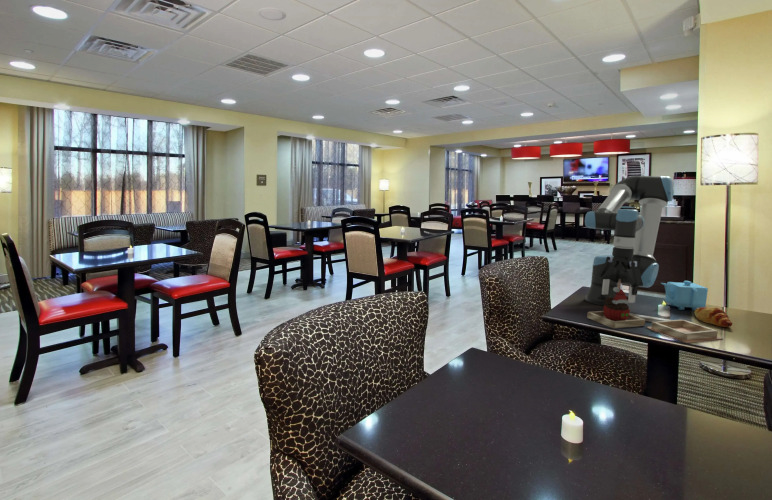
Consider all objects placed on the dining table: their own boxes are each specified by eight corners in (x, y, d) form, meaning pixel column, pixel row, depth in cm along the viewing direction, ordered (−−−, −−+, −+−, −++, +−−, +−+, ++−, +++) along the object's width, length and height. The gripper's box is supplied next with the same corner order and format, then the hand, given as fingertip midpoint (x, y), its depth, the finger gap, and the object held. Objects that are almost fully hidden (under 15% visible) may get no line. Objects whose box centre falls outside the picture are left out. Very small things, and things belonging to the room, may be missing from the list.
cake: (617, 317, 184) (621, 276, 181) (634, 324, 175) (639, 281, 172) (596, 318, 181) (600, 277, 178) (612, 325, 172) (617, 282, 170)
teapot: (687, 304, 210) (691, 278, 208) (708, 313, 195) (712, 285, 193) (649, 301, 212) (652, 276, 210) (666, 310, 197) (670, 283, 195)
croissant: (688, 321, 193) (681, 306, 192) (709, 312, 192) (702, 296, 191) (722, 337, 172) (715, 319, 171) (747, 326, 171) (739, 309, 170)
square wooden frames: (587, 317, 182) (587, 311, 182) (645, 313, 191) (646, 307, 191) (656, 346, 151) (657, 338, 150) (722, 339, 160) (723, 331, 159)
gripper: (592, 243, 184) (587, 291, 187) (642, 251, 160) (635, 306, 163) (607, 243, 186) (601, 290, 189) (657, 251, 163) (651, 305, 166)
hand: (617, 298), depth 176 cm, fingers open, 13 cm apart
